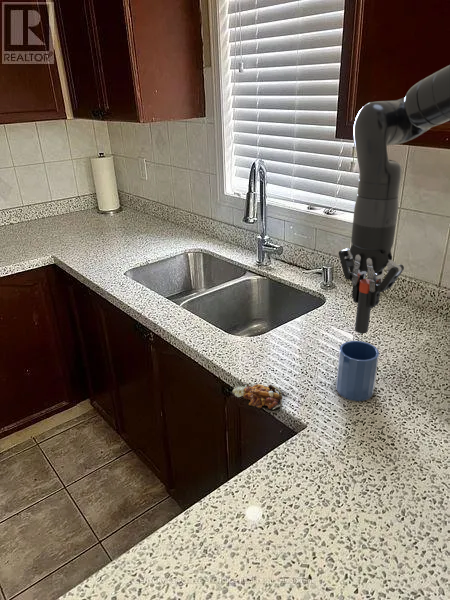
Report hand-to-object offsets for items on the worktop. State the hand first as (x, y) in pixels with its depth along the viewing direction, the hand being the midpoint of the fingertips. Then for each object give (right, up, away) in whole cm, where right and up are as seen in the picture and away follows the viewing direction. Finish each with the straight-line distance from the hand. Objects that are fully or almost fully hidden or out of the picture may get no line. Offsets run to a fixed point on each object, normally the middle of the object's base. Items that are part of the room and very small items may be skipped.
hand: (364, 303), depth 89 cm
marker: (0, -6, +3) cm, 6 cm away
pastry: (-21, -22, +12) cm, 32 cm away
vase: (+2, -20, +13) cm, 24 cm away
